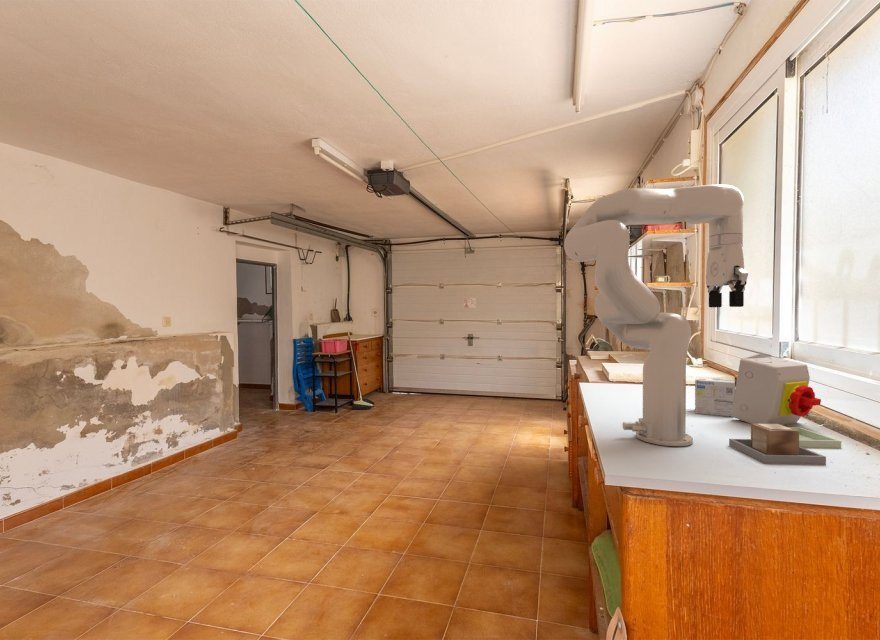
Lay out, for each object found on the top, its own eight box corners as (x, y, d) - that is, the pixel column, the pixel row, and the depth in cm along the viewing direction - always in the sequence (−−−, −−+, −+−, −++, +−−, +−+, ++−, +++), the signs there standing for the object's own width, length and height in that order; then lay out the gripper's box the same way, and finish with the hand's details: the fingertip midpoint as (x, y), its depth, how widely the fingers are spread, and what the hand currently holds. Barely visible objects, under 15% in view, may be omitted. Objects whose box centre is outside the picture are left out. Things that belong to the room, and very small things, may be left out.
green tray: (786, 448, 99) (786, 440, 99) (752, 434, 111) (752, 426, 111) (841, 449, 98) (841, 441, 98) (800, 435, 110) (800, 427, 110)
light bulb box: (734, 413, 135) (735, 379, 134) (735, 417, 129) (736, 382, 129) (695, 409, 140) (695, 376, 140) (694, 413, 135) (694, 379, 135)
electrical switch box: (786, 442, 111) (800, 367, 108) (729, 420, 125) (740, 354, 122) (820, 436, 117) (834, 365, 114) (762, 416, 130) (773, 352, 127)
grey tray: (764, 465, 88) (764, 455, 88) (729, 447, 100) (729, 438, 100) (825, 466, 88) (826, 456, 88) (782, 448, 100) (782, 439, 99)
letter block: (768, 458, 91) (769, 429, 91) (750, 449, 97) (750, 422, 97) (798, 459, 91) (799, 430, 91) (778, 450, 97) (778, 423, 97)
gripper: (694, 248, 123) (694, 307, 123) (729, 237, 106) (729, 306, 106) (721, 247, 122) (721, 307, 122) (761, 236, 105) (761, 306, 105)
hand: (725, 307), depth 114 cm, fingers open, 9 cm apart
